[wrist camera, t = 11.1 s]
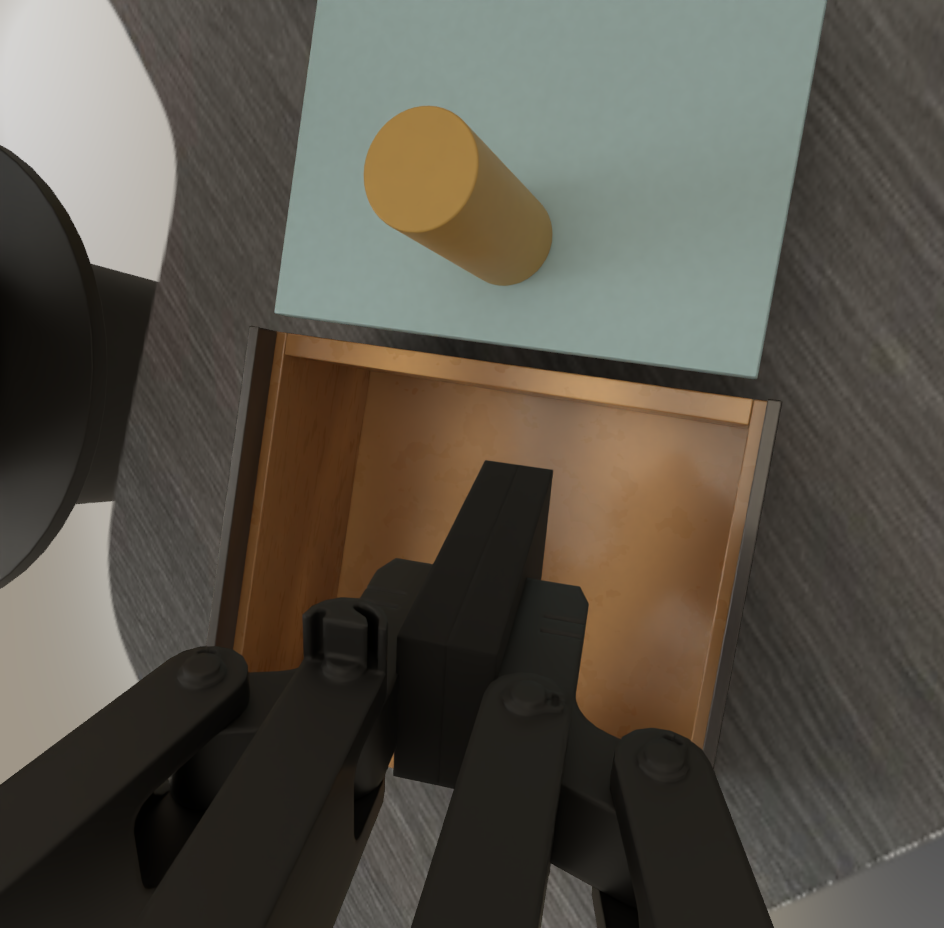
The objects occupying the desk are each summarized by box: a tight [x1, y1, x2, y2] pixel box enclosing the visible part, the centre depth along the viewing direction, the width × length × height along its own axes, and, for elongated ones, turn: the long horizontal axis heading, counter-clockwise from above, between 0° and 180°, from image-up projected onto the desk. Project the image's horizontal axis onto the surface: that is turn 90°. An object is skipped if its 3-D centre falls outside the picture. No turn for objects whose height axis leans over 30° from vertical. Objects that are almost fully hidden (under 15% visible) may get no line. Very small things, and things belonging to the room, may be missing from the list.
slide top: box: [274, 0, 827, 379], centre depth 23 cm, size 16×15×8 cm
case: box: [206, 326, 782, 769], centre depth 31 cm, size 18×15×9 cm
